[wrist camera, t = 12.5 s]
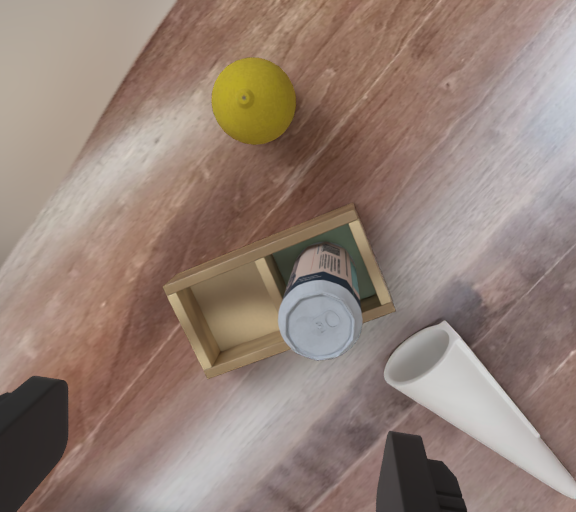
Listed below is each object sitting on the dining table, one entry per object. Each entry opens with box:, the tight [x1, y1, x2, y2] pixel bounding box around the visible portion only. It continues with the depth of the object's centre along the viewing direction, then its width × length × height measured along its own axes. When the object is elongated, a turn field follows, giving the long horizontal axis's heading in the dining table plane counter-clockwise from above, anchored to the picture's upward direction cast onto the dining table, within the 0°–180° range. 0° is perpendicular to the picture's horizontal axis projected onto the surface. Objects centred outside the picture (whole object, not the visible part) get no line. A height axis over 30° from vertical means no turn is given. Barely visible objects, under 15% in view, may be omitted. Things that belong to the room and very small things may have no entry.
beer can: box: [278, 242, 363, 361], centre depth 34 cm, size 5×5×12 cm
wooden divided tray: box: [163, 203, 396, 379], centre depth 39 cm, size 8×15×4 cm, turn 113°
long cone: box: [384, 320, 576, 499], centre depth 40 cm, size 6×6×19 cm
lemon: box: [212, 58, 296, 145], centre depth 34 cm, size 6×6×8 cm
